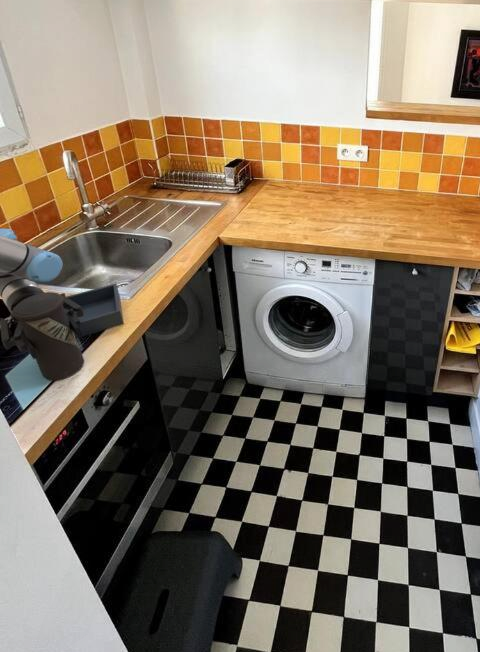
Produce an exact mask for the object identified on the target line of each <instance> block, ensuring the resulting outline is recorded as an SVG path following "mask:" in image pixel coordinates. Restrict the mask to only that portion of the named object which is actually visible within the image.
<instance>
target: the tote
mask: <svg viewBox="0 0 480 652" xmlns="http://www.w3.org/2000/svg"><path fill="white" fill-rule="evenodd" d="M119 291H120V290H119V288H118V284H117V283H113V284H109V285H105V286H101V287H97V288H93V289H90V290H86V291H81V292H78V293H74V294H70V295H67V296H66V297H67V298H68V299H70V300H71V301H73V302H75V303H76V304H78V305H80V306H81V308H82V311H83V314H84V315H83V316H82V317H78V318H79V320H80V322H81V325H80V326H79V328H80V331H81V333H82V336H81V337H78V336H77V335H76V334H75V332H74V331H73V333H74V335H75V338H76V340H77V339H80V338H83V337H86V336H89V335H92V334H96V333H99V332H102V331H105V330H109V329H112V328H115V327H118V326H121V325H124V324H125V323H124V315H123V310H122V302H121V294H120V292H119ZM63 308H64V307H63ZM64 309H65V308H64Z"/></svg>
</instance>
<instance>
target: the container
mask: <svg viewBox="0 0 480 652" xmlns="http://www.w3.org/2000/svg"><path fill="white" fill-rule="evenodd" d="M61 294H62V293H59V292H53V291H44V293H40V294H36V295H33V296H31V297H28V298H26V299H24V300H23V301H21V302H20V303H19V304H17V305H16V306H15V308H14V309H13V311H12V315H13V317H14V318H15V319H17V320H19V321H20V324H21V326H22V328H23V330H24V333H25V335H26V337H27V338H28V340H29V341H30V343H31V344H32V346H33V348H34V350H35V352H36V354H37V357H38V358H36V359H35V361H36V363H37V366H38V369H39V372H40V374H41V376H42V377H43V379H45V380H47V381H52V382H53V381H60V380H61V381H62V380H64V379H67V378H70V377H71V376H73V375H74V374H76V373H78V372H79V371H80V369H82V368H83V366H84V363H85V358H84V356H83V353H82V350H81V348H80V346H79V343H78V340H77V339H76V338H75V335H74V333H73V330H72V328H71V325H70V323H69V321H68V318H67V315H66V313H65V310H64V308H63V303H64V298H63V296H62V295H61Z"/></svg>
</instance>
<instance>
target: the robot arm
mask: <svg viewBox="0 0 480 652" xmlns="http://www.w3.org/2000/svg"><path fill="white" fill-rule="evenodd" d="M62 269H63V259H62V258H61V256H59V255H58V254H56V253H54V252H52V251H49V250H45V249H42V248H39V247H36V246H34V245H31V244H27V243H24V242H22V241H19V240H18V236H17V235H16V234H15V232H14V230H13V229H10V228H0V298H1V299H2V301H3V303H4V305H5V306H6V307H7V309H8V311H9V312H10V315H9V316H8V317H6V318H3V317H0V337H1V342H2V344H3V346H4V348H5V350H11V349H13V347H17V349H19V351H20V353H21V352H22V353H23V352H25V351H27V352H28V353H29V354H30V357H31V358H32V359H33V360H36V358H38V357H37V354H36V352H35V350H34V348H33V346H32V344H31V343H30V341H29V340H28V338H27V337H26V335H25V333H24V330H23V328H22V326H21V324H20V321H19V320H17V319H15V318H14V317H13V315H12V311H13V309H14V308H15V306H16V305H17V304H19V303H20V302H21V301H23V300H24V299H26V298H28V297H31V296H33V295H36V294H40V293H45V291H44V290H43V289H42V288H41V286H40V285H39V284H46V283H49V282H51V281H53V280H55V279H56V278H57V277H58V276H59V275H60V274H61V271H62ZM60 294H61V295H62V296H63V298H64V303H63V307H64V308H65V309H64V310H65V313H66V315H67V318H68V321H69V323H70V325H71V328H72V330H73V331H74V332H75V334H76V335H77V336H78V337H80V338H82V337H81V336H82V333H81V331H80V328H79V326H80V325H81V322H80V320H79V318H78V317H82V316H83V315H84V314H83V311H82V308H81V306H80V305H78V304H76V303H75V302H73V301H71V300H70V299H68V298H67V297H66V293H64V292H63V293H60ZM13 322H14V323H17V324H16V328H15V330H14V334H13V336H12V330H11V327H12V323H13Z"/></svg>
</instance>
